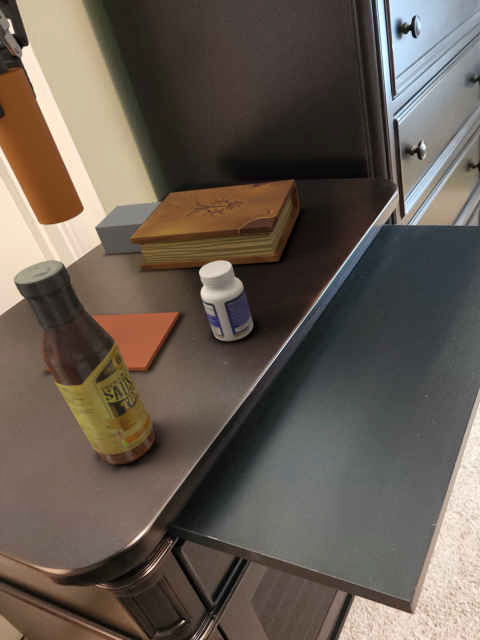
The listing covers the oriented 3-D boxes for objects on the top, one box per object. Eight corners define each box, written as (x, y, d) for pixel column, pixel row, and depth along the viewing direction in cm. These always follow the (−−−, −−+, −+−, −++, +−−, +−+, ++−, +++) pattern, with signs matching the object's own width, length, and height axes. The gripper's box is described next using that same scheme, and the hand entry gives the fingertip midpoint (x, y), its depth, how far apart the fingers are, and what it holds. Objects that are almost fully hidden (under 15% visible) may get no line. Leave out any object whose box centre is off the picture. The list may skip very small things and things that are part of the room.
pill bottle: (255, 316, 69) (239, 254, 63) (252, 339, 65) (235, 276, 59) (216, 321, 70) (197, 261, 64) (211, 344, 66) (190, 282, 60)
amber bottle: (29, 226, 58) (-54, 66, 48) (53, 207, 62) (-20, 54, 52) (70, 223, 57) (-7, 57, 47) (91, 203, 61) (24, 46, 51)
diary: (300, 210, 93) (295, 177, 89) (278, 262, 79) (271, 226, 76) (181, 220, 98) (171, 189, 94) (142, 270, 85) (129, 237, 81)
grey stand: (106, 254, 92) (94, 227, 89) (127, 231, 98) (116, 205, 95) (152, 251, 90) (142, 223, 87) (170, 228, 96) (161, 201, 93)
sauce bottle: (150, 465, 52) (57, 289, 39) (91, 470, 52) (-20, 300, 39) (164, 419, 56) (86, 248, 43) (110, 424, 57) (17, 259, 44)
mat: (48, 372, 67) (45, 368, 67) (90, 319, 76) (89, 315, 75) (147, 370, 64) (145, 367, 63) (179, 315, 72) (178, 311, 72)
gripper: (-77, -113, 47) (19, 97, 58) (-215, -118, 37) (-67, 137, 48) (-7, -132, 46) (78, 87, 57) (-132, -144, 35) (2, 128, 46)
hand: (11, 109), depth 52 cm, fingers closed on amber bottle, 5 cm apart
